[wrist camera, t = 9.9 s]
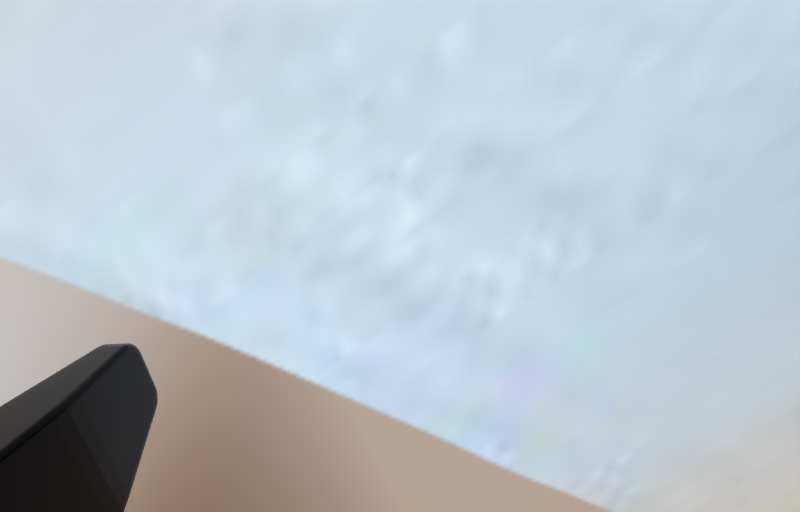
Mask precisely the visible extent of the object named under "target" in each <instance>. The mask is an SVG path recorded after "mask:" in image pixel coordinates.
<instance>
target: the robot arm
mask: <svg viewBox="0 0 800 512" xmlns="http://www.w3.org/2000/svg"><path fill="white" fill-rule="evenodd" d="M156 406H157V390H156V387H155V385H154V382H153V380H152V378H151V376H150V373H149V371H148V369H147V366H146V364H145V362H144V360H143V357H142V355H141V353H140V351H139V349H138V348H137V347H136V346H135V345H133V344H128V343H124V344H106V345H102V346H100V347H98V348H96V349H94V350H93V351H91V352H90V353H88V354H86V355H85V356H83V357H81V358H80V359H78V360H76V361H75V362H73V363H71V364H70V365H68V366H66V367H65V368H63V369H61V370H60V371H58V372H56V373H55V374H53V375H52V376H50V377H48V378H47V379H45V380H43V381H42V382H40V383H38V384H37V385H35V386H34V387H32V388H30V389H28V390H27V391H25V392H24V393H22V394H20V395H19V396H17V397H15V398H14V399H12V400H10V401H9V402H7V403H5V404H4V405H2V406H1V407H0V512H124V509H125V506H126V504H127V501H128V498H129V495H130V492H131V488H132V485H133V482H134V479H135V475H136V472H137V469H138V466H139V462H140V459H141V456H142V453H143V450H144V446H145V443H146V440H147V437H148V433H149V430H150V427H151V423H152V421H153V417H154V414H155V410H156Z"/></svg>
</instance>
